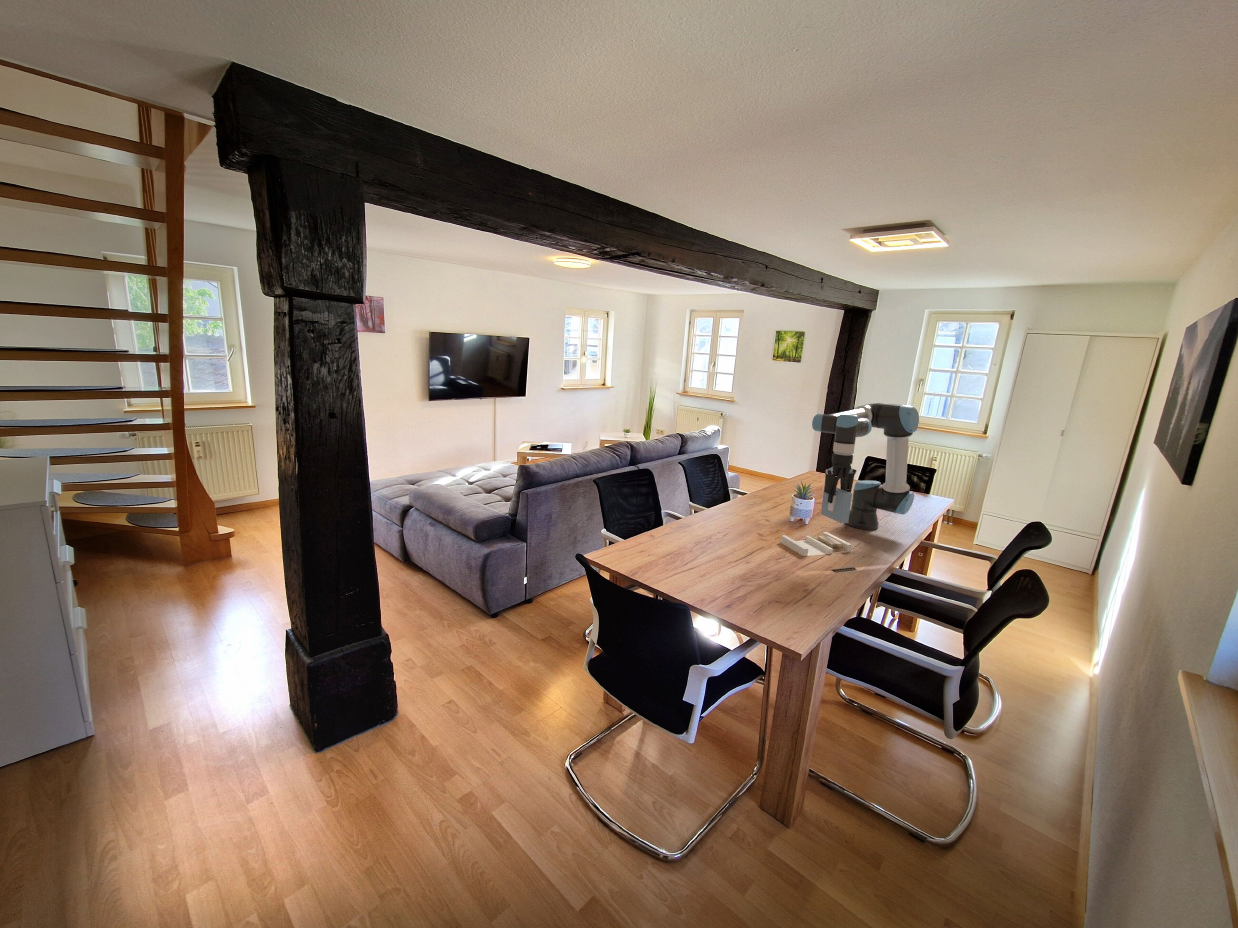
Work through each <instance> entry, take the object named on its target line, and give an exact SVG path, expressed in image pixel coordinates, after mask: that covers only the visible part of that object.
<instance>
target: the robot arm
mask: <svg viewBox="0 0 1238 928" xmlns="http://www.w3.org/2000/svg"><path fill="white" fill-rule="evenodd" d="M919 424H920V414H919V412H918V409H917V408H916V407H915V406H912V405H907V404H898V403H896V404H895V403H883V402H876V403H869V404H867V403H866V404H863V405H859V406H856V407H854V409H850V410H849V409H848V410H845V411H840V412H836V413H829V414H825V413H817V414H815V415H814V416H813V418H812V423H811V426H812V427H811V428H812V430H814V431H815V432H820V433H825V434H826V433H827V434H834V441H833V446H832V447H833V449H832V451H833V453H832V454H831V455H832V456H831V466H830V467H829V468H825V469H824V474H825V475H824V476H825V477H824V478H825V479H824V486H825V488H824V487H823V492H825V493H827V494H828V502H829V504H828V510H830V511H832V512H834V506H835V499H836V496H835V495H834V494H835V491H836V488H838V487H837V486H838V484H839V483H840V484H839V486H840V488H839V489H842V490H844V491H847V492H850V493H852V499H851V506H850V513H849V520H848V523H845V524H846V525H847V526H849V527H851V528H854V529H858V530H859V529H860V530H868V531H869V530H870V531H872V530H873V531H874V530H877V529H879V521H878V515H877V511H878V510H880V511H886V512H890V513H894V514H897V515H901V516H903V515H906V514H907V513H909V511H910V510H911V508H912V505H913V503H914V500H915V493H914V491H913V492H912V491H910V490H911V489H910V485H909V484H908V483H907V475H908V458H909V457H908V456H909V442H910V441H909V439H910V437H912V436H913V434H914V433H915V432H916V431H917V430H918V428H919ZM873 428H874V429H881V430H883V435H884V436H885V437H886V457H885V459H886V464H885V482H883V483H882V482H880V481H877V480H868V479H867V480H858V481H856V482H855V483H854V481H855V475H856V473H857V469H855V468H852V465H853V460H854V455H853V454H854V453H855V448H856V447H855V446H856V439H857V438H861V437H865V436H868V435H869V434H870V433H871V431H872V429H873ZM839 480H840V482H839ZM853 483H854V484H853ZM852 489H853V492H852Z"/></svg>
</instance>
